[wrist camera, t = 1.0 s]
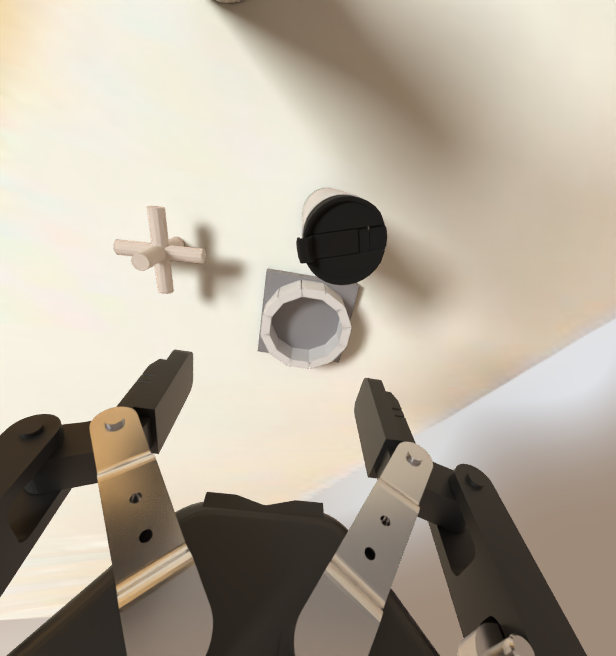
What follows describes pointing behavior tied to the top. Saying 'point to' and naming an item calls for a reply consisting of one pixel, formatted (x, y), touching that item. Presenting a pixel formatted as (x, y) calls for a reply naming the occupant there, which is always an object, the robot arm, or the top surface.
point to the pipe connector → (159, 250)
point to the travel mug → (341, 236)
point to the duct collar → (305, 319)
